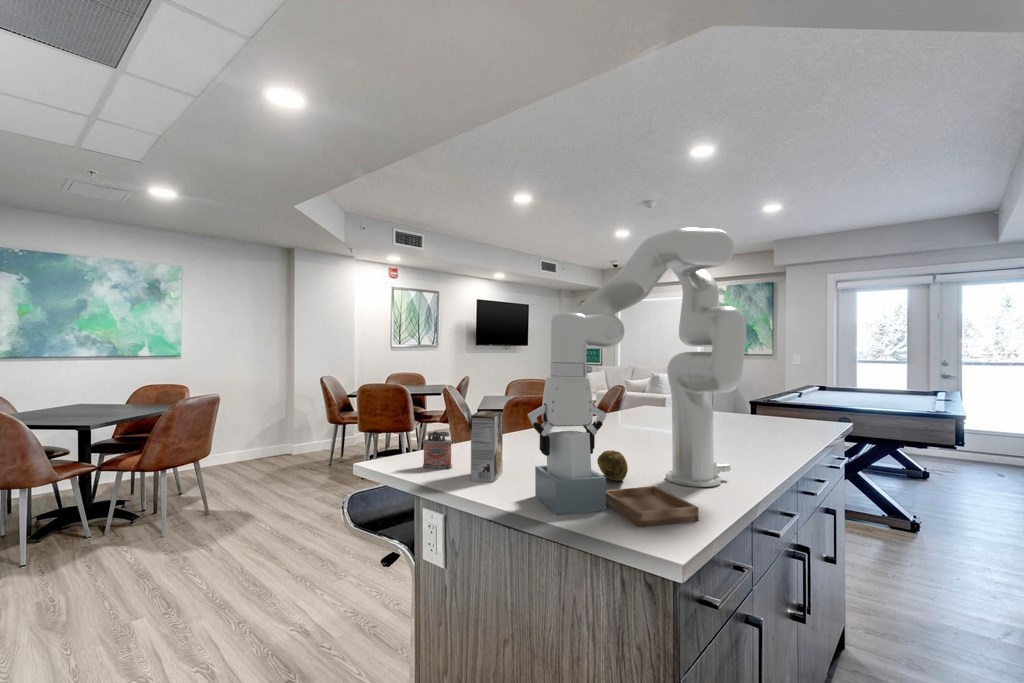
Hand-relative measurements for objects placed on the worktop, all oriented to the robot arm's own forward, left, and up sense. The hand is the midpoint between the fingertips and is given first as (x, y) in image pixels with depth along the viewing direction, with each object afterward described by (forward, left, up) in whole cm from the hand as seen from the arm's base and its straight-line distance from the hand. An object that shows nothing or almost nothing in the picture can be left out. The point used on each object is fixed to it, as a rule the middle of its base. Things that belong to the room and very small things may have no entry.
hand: (567, 453), depth 99 cm
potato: (-17, -13, -11) cm, 24 cm away
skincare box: (0, 0, -11) cm, 11 cm away
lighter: (+23, -38, -11) cm, 45 cm away
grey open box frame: (0, 0, -10) cm, 10 cm away
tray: (-13, +9, -10) cm, 19 cm away
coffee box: (+12, -25, -11) cm, 30 cm away
